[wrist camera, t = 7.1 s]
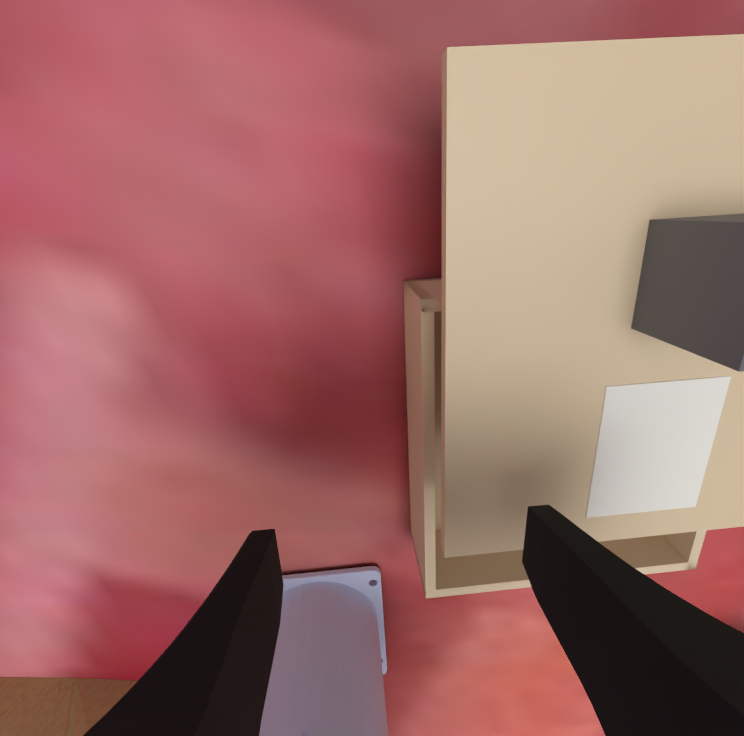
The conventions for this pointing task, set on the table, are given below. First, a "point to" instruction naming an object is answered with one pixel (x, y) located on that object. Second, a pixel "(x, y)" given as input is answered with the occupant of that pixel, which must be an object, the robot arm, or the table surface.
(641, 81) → the carton lid
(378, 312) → the table surface
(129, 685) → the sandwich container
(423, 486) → the carton
